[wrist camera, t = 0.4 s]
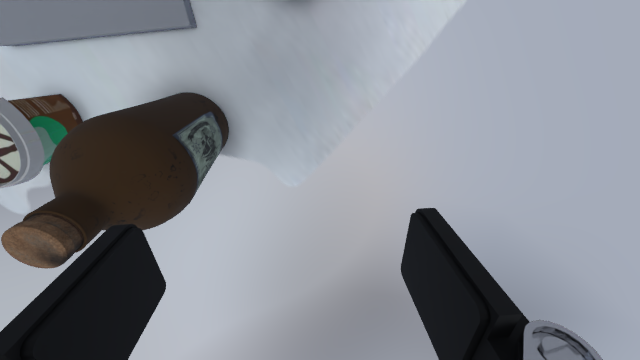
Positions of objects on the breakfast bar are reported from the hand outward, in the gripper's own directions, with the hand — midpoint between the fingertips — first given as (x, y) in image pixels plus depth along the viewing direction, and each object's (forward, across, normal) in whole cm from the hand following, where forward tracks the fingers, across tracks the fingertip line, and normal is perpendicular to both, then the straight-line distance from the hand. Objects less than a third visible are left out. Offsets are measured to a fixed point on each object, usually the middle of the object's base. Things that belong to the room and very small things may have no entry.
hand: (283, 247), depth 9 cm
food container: (+30, +33, +4) cm, 45 cm away
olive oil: (+30, +15, +4) cm, 34 cm away
